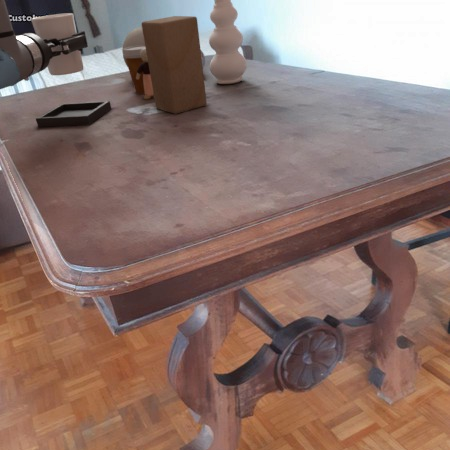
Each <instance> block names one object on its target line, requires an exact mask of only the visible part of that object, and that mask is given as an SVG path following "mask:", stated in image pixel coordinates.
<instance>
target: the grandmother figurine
mask: <svg viewBox="0 0 450 450" xmlns="http://www.w3.org/2000/svg"><path fill="white" fill-rule="evenodd" d="M140 56H141V58H142V60H143V61H144V63H141V65H140V66H139V68H138V70H137V76H136V79H137V80H139V78H140V74H141V73H142V72H143V83H144V91H145V94H144V97H143V99H144V100H149V99H152V98H153V99H155V98H154V93H153V87H152V81H151V76H150V70H149V64H148V58H147V53H146V48H143V49H142V50H141V51H140Z"/></svg>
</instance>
